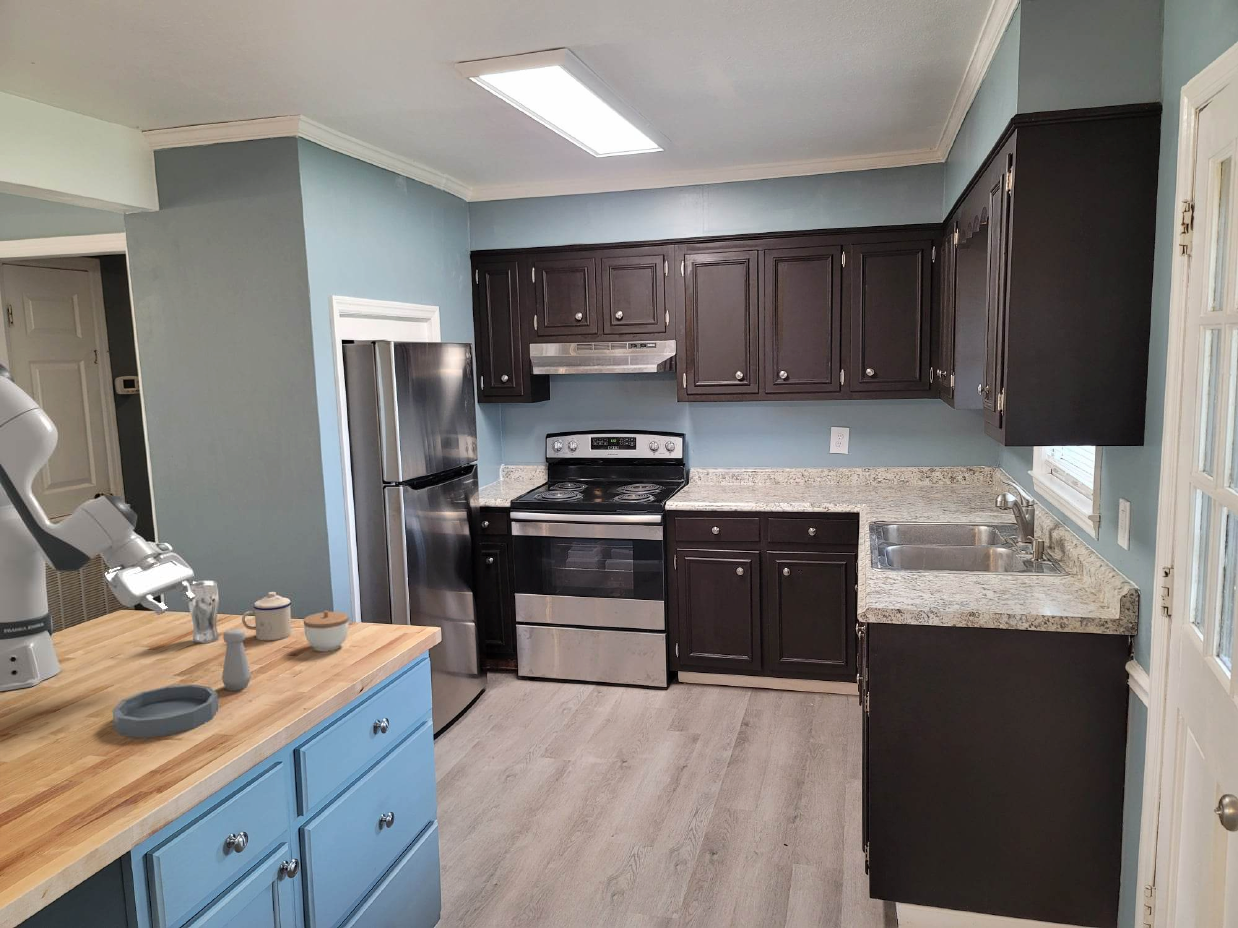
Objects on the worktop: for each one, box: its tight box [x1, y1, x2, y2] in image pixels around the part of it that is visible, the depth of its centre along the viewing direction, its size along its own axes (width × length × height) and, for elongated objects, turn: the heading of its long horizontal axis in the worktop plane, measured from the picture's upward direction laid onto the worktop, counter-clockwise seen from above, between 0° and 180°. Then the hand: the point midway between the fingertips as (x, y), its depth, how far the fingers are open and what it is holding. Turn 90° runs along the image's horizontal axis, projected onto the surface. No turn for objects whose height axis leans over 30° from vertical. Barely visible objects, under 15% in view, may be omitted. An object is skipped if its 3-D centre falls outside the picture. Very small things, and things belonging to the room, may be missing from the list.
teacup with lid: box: [241, 591, 292, 642], centre depth 223 cm, size 12×9×12 cm
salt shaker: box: [221, 628, 252, 692], centre depth 188 cm, size 6×6×13 cm
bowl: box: [112, 684, 219, 739], centre depth 172 cm, size 18×18×4 cm
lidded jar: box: [303, 610, 350, 652], centre depth 215 cm, size 11×11×9 cm
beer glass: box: [188, 579, 220, 644], centre depth 221 cm, size 7×7×15 cm
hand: (177, 606), depth 188 cm, fingers open, 8 cm apart
